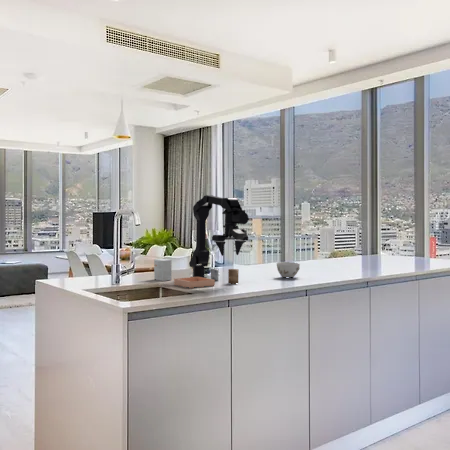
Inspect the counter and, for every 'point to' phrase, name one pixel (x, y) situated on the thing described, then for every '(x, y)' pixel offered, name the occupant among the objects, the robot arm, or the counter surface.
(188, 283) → the shallow square tray
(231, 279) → the walnut knob
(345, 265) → the counter surface
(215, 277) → the steel peg
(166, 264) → the small box
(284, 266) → the teacup
